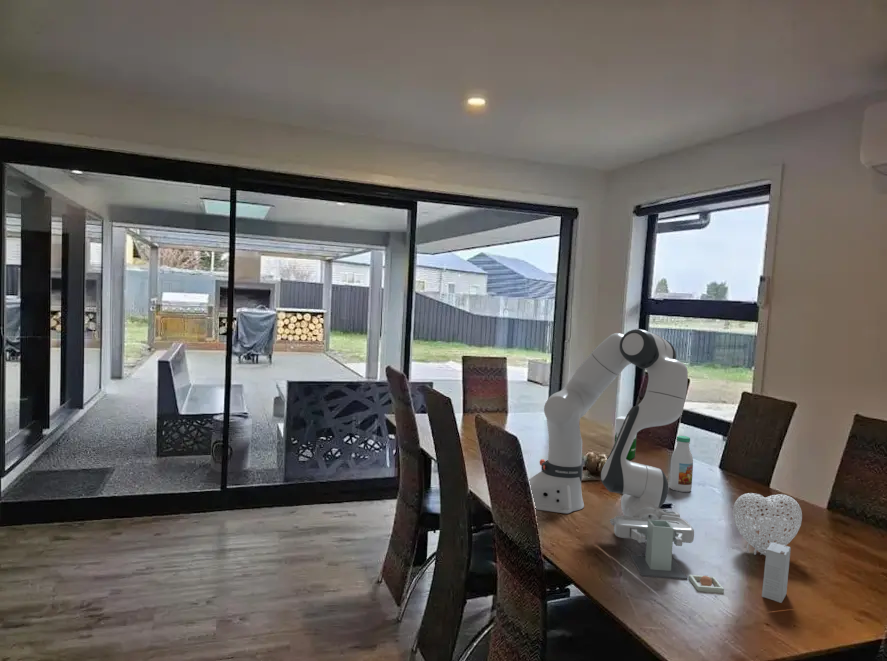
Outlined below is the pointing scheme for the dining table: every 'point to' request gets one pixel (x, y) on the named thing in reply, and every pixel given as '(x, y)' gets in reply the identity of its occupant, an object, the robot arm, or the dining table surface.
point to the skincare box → (776, 572)
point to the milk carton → (617, 429)
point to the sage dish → (706, 588)
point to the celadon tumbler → (659, 545)
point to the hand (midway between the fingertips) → (660, 541)
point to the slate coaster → (646, 571)
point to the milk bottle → (681, 466)
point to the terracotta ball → (706, 581)
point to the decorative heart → (766, 520)
